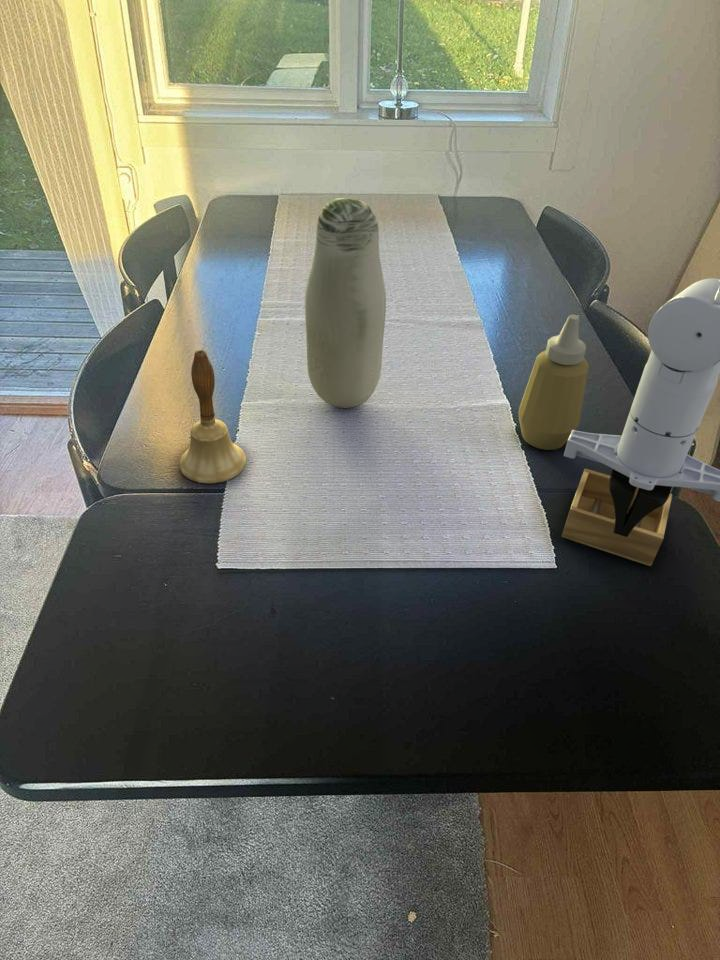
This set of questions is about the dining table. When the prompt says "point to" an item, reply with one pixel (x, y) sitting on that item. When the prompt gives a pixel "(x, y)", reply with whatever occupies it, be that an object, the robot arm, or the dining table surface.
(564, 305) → the dining table surface
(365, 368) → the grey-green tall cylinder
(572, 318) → the squeeze bottle
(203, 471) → the hand bell
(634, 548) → the cutlery caddy
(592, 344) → the dining table surface
